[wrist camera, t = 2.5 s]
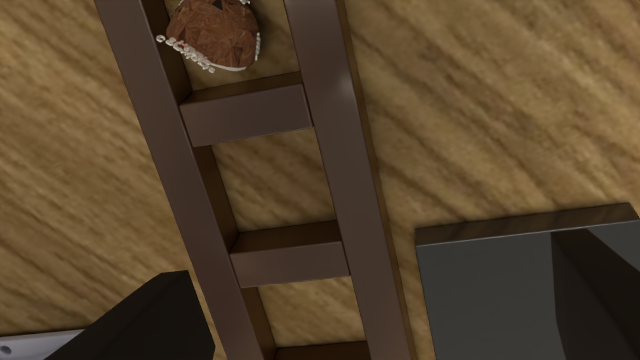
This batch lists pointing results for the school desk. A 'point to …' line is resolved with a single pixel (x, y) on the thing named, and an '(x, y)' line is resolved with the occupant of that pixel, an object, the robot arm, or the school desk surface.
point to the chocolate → (215, 33)
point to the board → (507, 280)
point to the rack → (254, 121)
